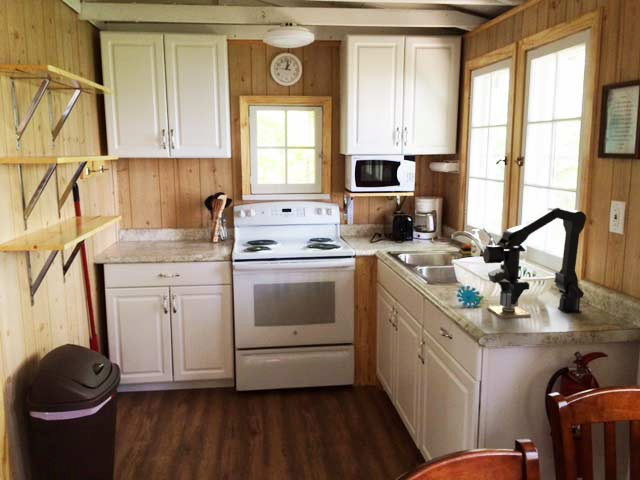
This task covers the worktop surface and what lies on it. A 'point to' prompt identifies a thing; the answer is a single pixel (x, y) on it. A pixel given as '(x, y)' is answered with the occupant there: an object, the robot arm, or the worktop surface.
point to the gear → (469, 296)
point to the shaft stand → (508, 311)
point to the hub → (506, 299)
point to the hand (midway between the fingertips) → (509, 301)
